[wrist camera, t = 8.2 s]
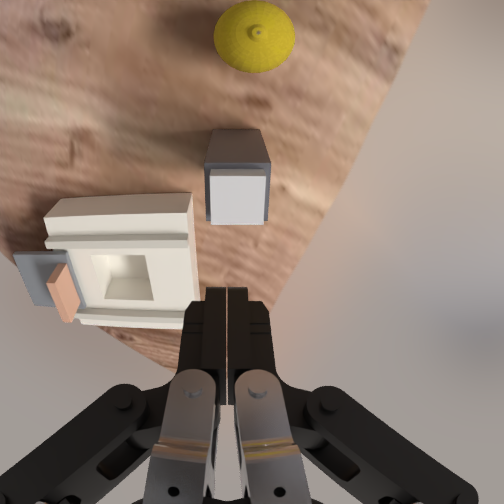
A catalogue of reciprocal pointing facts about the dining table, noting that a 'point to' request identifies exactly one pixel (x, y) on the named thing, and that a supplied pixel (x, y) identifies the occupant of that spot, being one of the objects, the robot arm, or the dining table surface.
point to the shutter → (51, 281)
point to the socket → (129, 256)
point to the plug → (237, 178)
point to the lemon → (254, 36)
